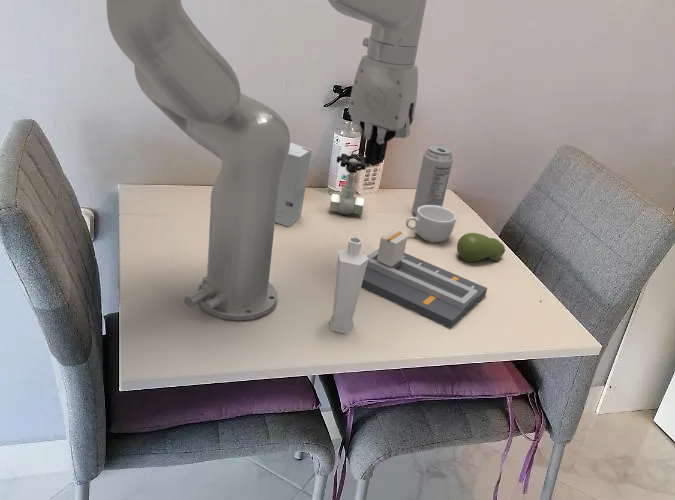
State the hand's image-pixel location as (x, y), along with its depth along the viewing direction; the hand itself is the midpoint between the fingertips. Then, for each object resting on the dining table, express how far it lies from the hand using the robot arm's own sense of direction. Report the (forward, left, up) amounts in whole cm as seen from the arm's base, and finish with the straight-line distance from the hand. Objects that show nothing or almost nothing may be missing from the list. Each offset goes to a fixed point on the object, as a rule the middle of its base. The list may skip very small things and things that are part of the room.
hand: (373, 162), depth 115 cm
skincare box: (+3, +21, -19) cm, 28 cm away
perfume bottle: (-19, -9, -19) cm, 29 cm away
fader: (0, -6, -17) cm, 18 cm away
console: (0, -12, -19) cm, 23 cm away
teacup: (+19, -4, -19) cm, 27 cm away
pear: (+19, -16, -19) cm, 32 cm away
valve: (+15, +13, -19) cm, 27 cm away
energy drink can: (+28, +1, -19) cm, 34 cm away
